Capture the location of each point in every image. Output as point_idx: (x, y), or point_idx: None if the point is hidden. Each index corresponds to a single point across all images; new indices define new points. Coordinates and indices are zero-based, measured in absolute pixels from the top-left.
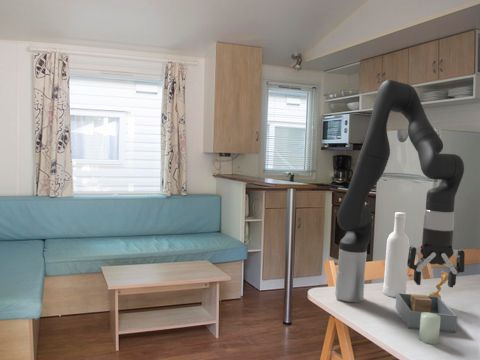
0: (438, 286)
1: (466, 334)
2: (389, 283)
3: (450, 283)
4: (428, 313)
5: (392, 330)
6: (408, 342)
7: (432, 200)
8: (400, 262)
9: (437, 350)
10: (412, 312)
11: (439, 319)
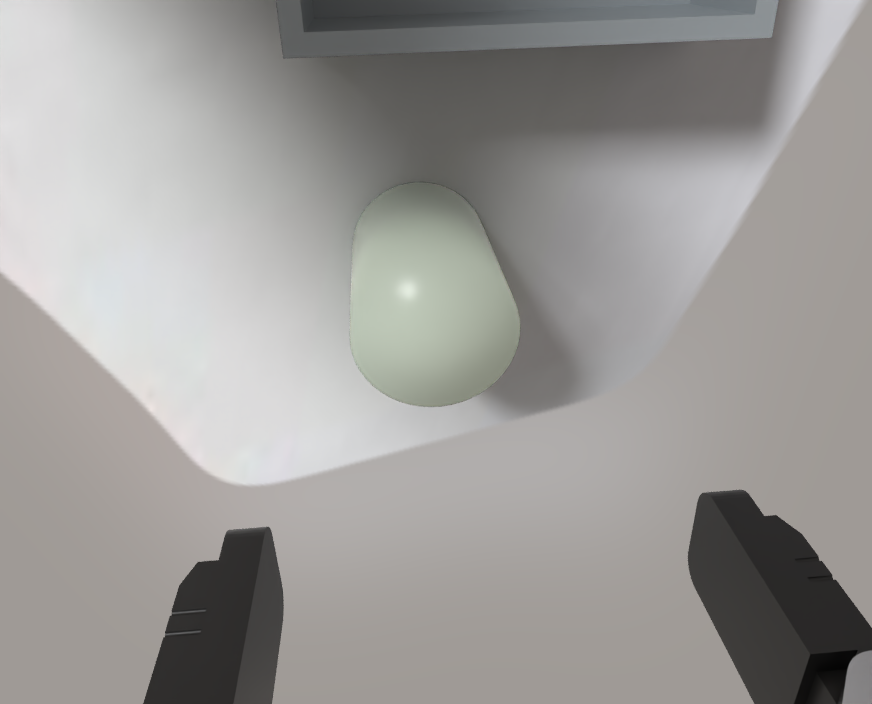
0: None
1: (778, 31)
2: None
3: (710, 606)
4: (429, 285)
5: (156, 135)
6: (268, 325)
7: None
8: None
9: None
10: (314, 54)
11: (495, 377)
